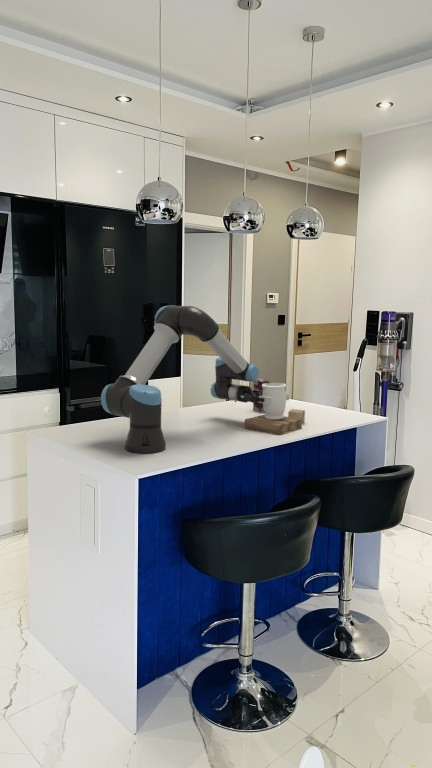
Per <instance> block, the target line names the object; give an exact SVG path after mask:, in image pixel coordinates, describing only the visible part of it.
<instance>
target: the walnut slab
mask: <svg viewBox="0 0 432 768" xmlns="http://www.w3.org/2000/svg"><path fill="white" fill-rule="evenodd" d="M265 415H266V413H264V414H261V415H257V416H254V417H249V418H245V419H244V426H243V427H244V429H246V430H250V431H255V432H256V431H257V432H260V433H261V432H262V433H265V434H271V433H272V434H271V435H276V434H277V435H278V436H280V435H283V434H287V433H290V432H289V431H291V432H293V430H294V431H297V430H300V429H302V428H303V427H302V426H303V424H302V419H297V418H291V417H288V416H285V415H284V418H283V419H278V420H270V419H266V418H265ZM296 429H297V430H296ZM286 432H287V433H286Z"/></svg>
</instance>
